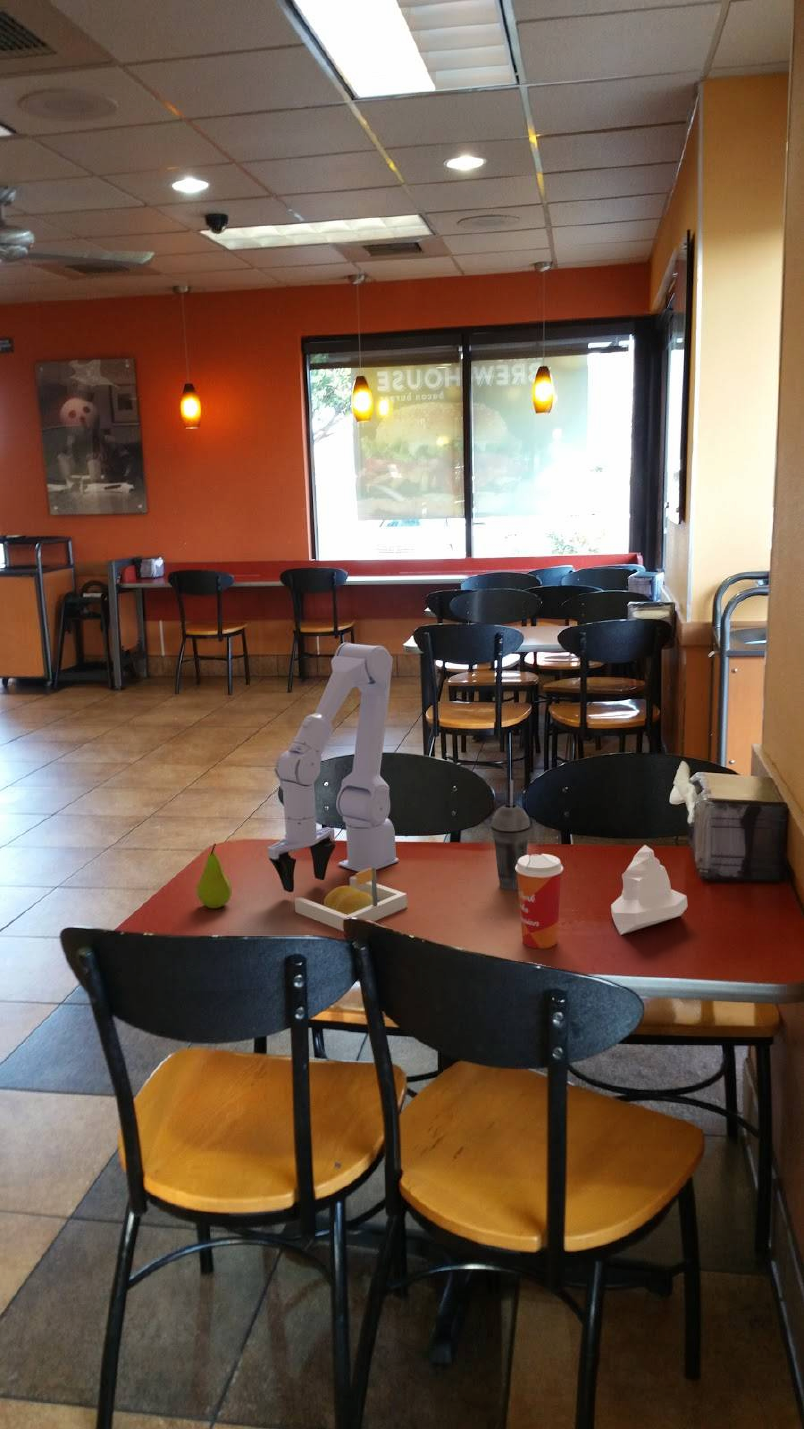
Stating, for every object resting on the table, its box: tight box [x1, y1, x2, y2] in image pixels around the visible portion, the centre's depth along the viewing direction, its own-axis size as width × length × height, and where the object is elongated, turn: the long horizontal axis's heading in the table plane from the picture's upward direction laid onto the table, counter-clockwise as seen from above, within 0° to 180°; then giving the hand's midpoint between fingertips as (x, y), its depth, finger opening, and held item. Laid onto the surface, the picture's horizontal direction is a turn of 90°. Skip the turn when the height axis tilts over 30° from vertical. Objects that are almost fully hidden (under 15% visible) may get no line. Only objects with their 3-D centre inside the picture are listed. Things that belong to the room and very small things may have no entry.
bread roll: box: [323, 885, 373, 915], centre depth 190 cm, size 8×9×4 cm
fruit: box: [196, 842, 232, 909], centre depth 193 cm, size 6×6×12 cm
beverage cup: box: [490, 779, 532, 891], centre depth 196 cm, size 7×7×20 cm
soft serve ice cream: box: [610, 844, 688, 936], centre depth 179 cm, size 12×15×14 cm
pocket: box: [294, 866, 408, 932], centre depth 189 cm, size 14×14×10 cm
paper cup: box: [515, 853, 564, 950], centre depth 173 cm, size 8×8×14 cm
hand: (304, 884), depth 199 cm, fingers open, 7 cm apart
